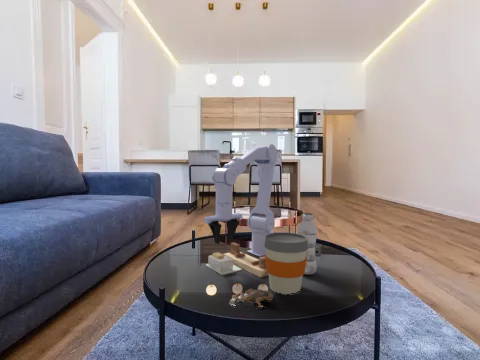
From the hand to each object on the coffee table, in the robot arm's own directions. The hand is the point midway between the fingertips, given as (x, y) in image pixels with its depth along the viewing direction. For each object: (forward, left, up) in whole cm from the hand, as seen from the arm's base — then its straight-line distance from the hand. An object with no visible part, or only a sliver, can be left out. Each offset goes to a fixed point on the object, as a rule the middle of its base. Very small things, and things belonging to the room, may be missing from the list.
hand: (223, 241), depth 100 cm
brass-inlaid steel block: (+1, 0, -9) cm, 9 cm away
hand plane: (-9, +3, -9) cm, 13 cm away
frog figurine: (+7, +25, -10) cm, 28 cm away
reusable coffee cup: (-6, +24, -9) cm, 26 cm away
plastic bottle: (-20, +20, -9) cm, 30 cm away
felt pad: (0, 0, -9) cm, 9 cm away
